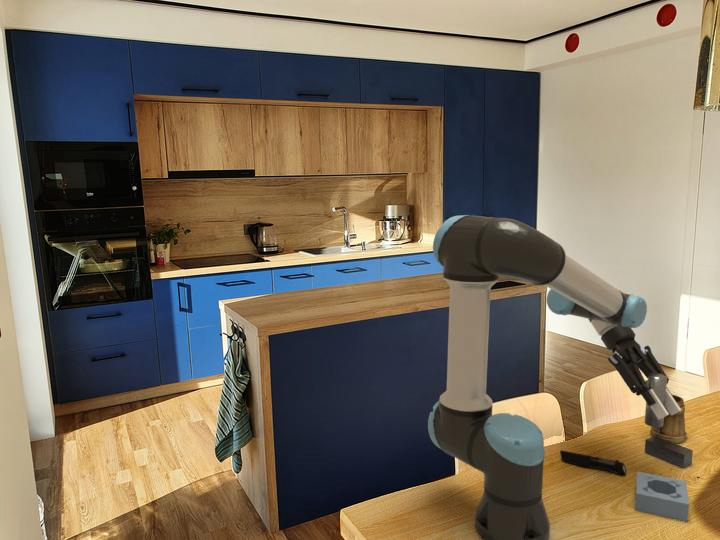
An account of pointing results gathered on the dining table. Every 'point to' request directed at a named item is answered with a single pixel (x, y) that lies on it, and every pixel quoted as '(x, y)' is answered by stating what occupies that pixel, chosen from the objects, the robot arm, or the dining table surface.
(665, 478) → the bore block
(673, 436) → the wooden mug
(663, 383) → the ball
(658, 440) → the square bar
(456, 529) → the dining table surface
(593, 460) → the electric trimmer
